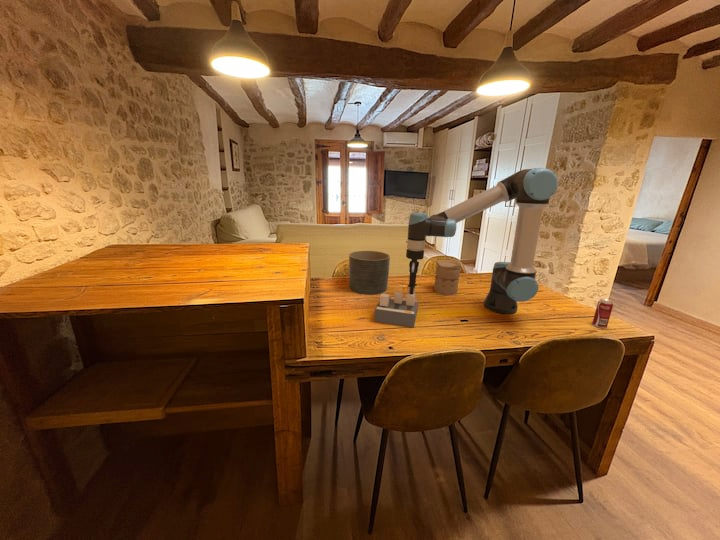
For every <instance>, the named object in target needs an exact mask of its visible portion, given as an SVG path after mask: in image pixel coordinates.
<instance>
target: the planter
mask: <svg viewBox="0 0 720 540" xmlns="http://www.w3.org/2000/svg"><path fill="white" fill-rule="evenodd" d="M348 256H349V257H348V286H349V290H350V291H351V292H354V293H356V294H359V295H366V296H370V295H371V296H374V295H381V294H382V293H383V294H384V293H385V292H387V290H388V287H389V285H388V284H389V273H390V263H391V262H390V260H391V256H390V254H388V253H385V252H383V251H377V250H358V251H357V250H356V251H353V252H350V253H349V255H348Z"/></svg>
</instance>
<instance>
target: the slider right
mask: <svg viewBox="0 0 720 540" xmlns="http://www.w3.org/2000/svg"><path fill="white" fill-rule="evenodd" d="M405 299H406V305H408V306H414V304H415V300H416V293H415V294H410V293H406V298H405Z"/></svg>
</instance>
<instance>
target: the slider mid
mask: <svg viewBox="0 0 720 540" xmlns="http://www.w3.org/2000/svg"><path fill="white" fill-rule="evenodd" d="M393 297H394V303H397V304H402V302H403V299H404V291H398V290H395V291H394V295H393Z"/></svg>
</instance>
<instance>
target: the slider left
mask: <svg viewBox="0 0 720 540" xmlns="http://www.w3.org/2000/svg"><path fill="white" fill-rule="evenodd" d="M390 296H391V295H390V294H389V293H384V292H383V293H381V294H380V296H379V301H380V306H386V307H388V305H389V297H390Z"/></svg>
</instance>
